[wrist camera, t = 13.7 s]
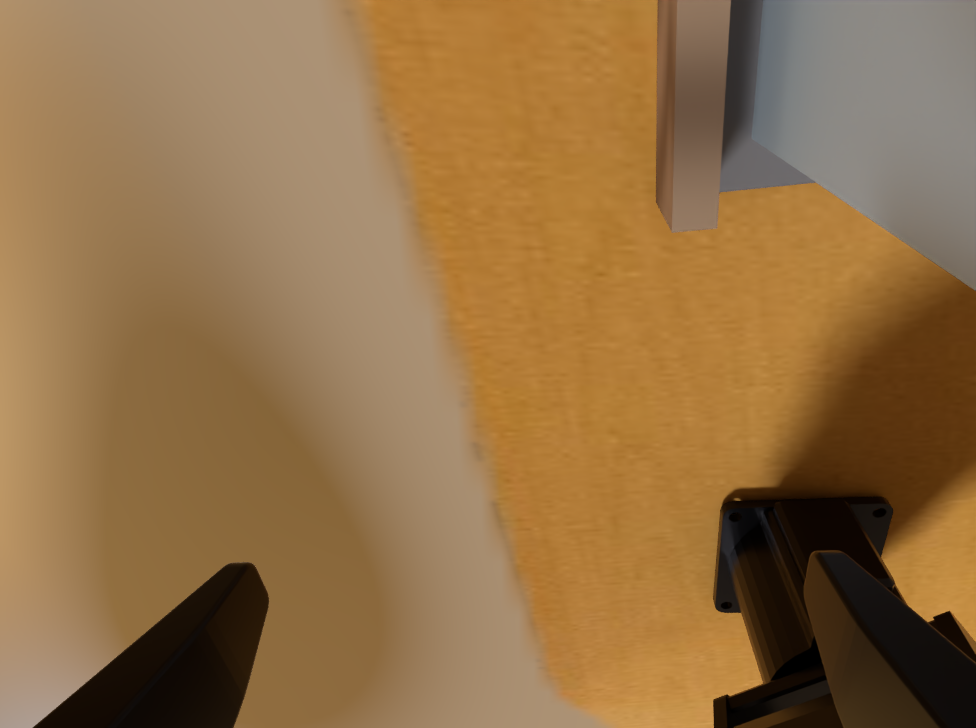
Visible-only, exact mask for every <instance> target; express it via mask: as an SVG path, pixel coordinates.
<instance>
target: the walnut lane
mask: <svg viewBox="0 0 976 728" xmlns="http://www.w3.org/2000/svg"><path fill="white" fill-rule="evenodd" d="M762 8H763V0H658V37H657V152H656V203H657V205H658V207H659V209H660V211H661V213H662V214H663V216H664V218H665V220H666V222H667V224H668V226H669V228H670V230H671V232H672V233H673V232H684V231H695V230H705V229H716V228H717V222H718V206H719V192H727V191H737V190H746V189H756V188H766V187H776V186H786V185H796V184H805V183H815V181H813V180H812V179H810V178H809V177H807V176H806V175H805V174H803V173H802V172H800V171H799V170H797V169H796V168H794V167H793V166H791V165H790V164H788V163H787V162H785V161H784V160H782V159H781V158H780V157H778V156H777V155H775V154H774V153H772V152H771V151H769V150H768V149H766V148H765V147H763V146H762V145H760V144H759V143H757V142H756V141H755V140H753V139H752V127H753V115H754V103H755V91H756V79H757V67H758V56H759V44H760V32H761V20H762Z"/></svg>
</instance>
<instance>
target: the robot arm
mask: <svg viewBox="0 0 976 728" xmlns="http://www.w3.org/2000/svg"><path fill="white" fill-rule="evenodd" d="M879 508H880V509H879ZM876 509H878V510H876ZM732 513H736V514H734V515H731V514H732ZM892 515H893V508H892V507H891V505H890V504H889V502H888V501H887V500H886V499H885V498H883V497H848V498H817V499H786V500H756V501H732V502H728V503H726V504H724V505H723V506H722V507H721V510H720V521H719V533H718V545H717V557H716V569H715V581H714V593H713V600H714V604H715V608H716V609H717V610H718V611H720V612H724V613H742V616H743V620H744V623H745V626H746V629H747V632H748V636H749V639H750V642H751V645H752V648H753V652H754V655H755V658H756V661H757V664H758V668H759V671H760V674H761V677H762V681H763V684H761V685H759V686H756V687H753V688H751V689H748V690H745V691H743V692H740V693H737V694H735V695H732V696H729V695H724V696H721V697H719V698H716V699H714V700H713V707H714V728H976V642H975V641H974V640H973V638H972V637H971V636H970V635H969V633H968V632H967V631H966V630H965V629H964V627H963V626H962V625H961V624H960V622H959V621H958V620H957V619H956V618H955V616H954V615H953V614H952V613H951V612H950V611H948V612H945V613H942V614H940V615H937V616H934V617H933V618H934V620H933V621H930V622H927V621H925V620H924V619H923V618H922V617H921V616H919V615H918V614H917V613H916V612H915V611H913V610H912V609H911V608H910V607H909V606H908V605H907V603H906V602H905V600H904V598H903V597H902V595H901V593H900V592H899V590H898V588H897V586H896V585H895V582H894V579H893V577H892V576H891V574H890V572H889V571H888V569H887V567H886V565H885V564H884V562H883V560H882V559H881V555H882V551H883V547H884V544H885V540H886V536H887V533H888V529H889V525H890V522H891V518H892ZM268 604H269V597H268V593H267V590H266V588H265V586H264V584H263V582H262V580H261V577H260V575H259V573H258V571H257V569H256V567H255V566H254V565H253V564H252V563H248V562H247V563H230V564H228V565H226V566H224V567H223V568H222V569H221V570H219V571H218V572H217V573H216V574H215V575H214V576H212V577H211V578H210V579H209V580H208V581H206V582H205V583H204V584H203V585H202V586H200V587H199V588H198V589H197V590H196V591H195V592H193V593H192V594H191V595H190V596H189V597H187V598H186V599H185V600H184V601H183V602H181V603H180V604H179V605H178V606H177V607H175V609H173V610H172V611H171V612H170V613H168V614H167V615H166V616H165V617H164V618H162V619H161V620H160V621H159V622H158V623H157V624H155V625H154V626H153V627H152V628H151V629H149V630H148V631H147V632H146V633H145V634H144V635H142V636H141V637H140V638H139V639H138V640H136V641H135V642H134V643H133V644H132V645H130V646H129V647H128V648H127V649H126V650H124V651H123V652H122V653H121V654H120V655H118V656H117V657H116V658H115V659H114V660H113V661H111V662H110V663H109V664H108V665H107V666H106V667H104V668H103V669H102V670H101V671H99V672H98V673H97V674H96V675H95V676H94V677H92V678H91V679H90V680H89V681H88V682H86V683H85V684H84V685H83V686H82V687H80V688H79V689H78V690H77V691H76V692H75V693H73V694H72V695H71V696H70V697H69V698H67V699H66V700H65V701H64V702H63V703H61V704H60V705H59V706H58V707H57V708H56V709H54V710H53V711H52V712H51V713H50V714H48V715H47V716H46V717H45V718H44V719H42V720H41V721H40V722H39V723H38V724H37V725H35V726H34V727H33V728H233V727H234V724H235V722H236V719H237V717H238V714H239V711H240V708H241V705H242V703H243V700H244V697H245V693H246V690H247V686H248V683H249V679H250V675H251V672H252V668H253V664H254V660H255V656H256V653H257V649H258V645H259V641H260V637H261V634H262V629H263V626H264V622H265V618H266V614H267V610H268Z"/></svg>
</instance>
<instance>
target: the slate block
mask: <svg viewBox="0 0 976 728" xmlns="http://www.w3.org/2000/svg"><path fill="white" fill-rule="evenodd" d="M752 139H753V140H755V141H756V142H757V143H759V144H760V145H762V146H763V147H765V148H766V149H768V150H769V151H771V152H772V153H774V154H775V155H777V156H778V157H780V158H781V159H782V160H784V161H785V162H787V163H788V164H790V165H791V166H793V167H794V168H796V169H797V170H799V171H800V172H802V173H803V174H805V175H806V176H807V177H809V178H810V179H812V180H813V181H815V182H816V183H818V184H819V185H821V186H822V187H824V188H825V189H827V190H828V191H830V192H831V193H832V194H834V195H835V196H837V197H838V198H840V199H841V200H843V201H844V202H846V203H847V204H849V205H850V206H852V207H853V208H854V209H856V210H857V211H859V212H860V213H862V214H863V215H865V216H866V217H868V218H869V219H871V220H872V221H874V222H875V223H877V224H878V225H879V226H881V227H882V228H884V229H885V230H887V231H888V232H890V233H891V234H893V235H894V236H896V237H897V238H899V239H900V240H902V241H903V242H904V243H906V244H907V245H909V246H910V247H912V248H913V249H915V250H916V251H918V252H919V253H921V254H922V255H924V256H925V257H927V258H928V259H929V260H931V261H932V262H934V263H935V264H937V265H938V266H940V267H941V268H943V269H944V270H946V271H947V272H949V273H950V274H951V275H953V276H954V277H956V278H957V279H959V280H960V281H962V282H963V283H965V284H966V285H968V286H969V287H971V288H972V289H974V290H975V291H976V0H763V8H762V20H761V32H760V44H759V56H758V67H757V79H756V91H755V103H754V115H753V127H752Z"/></svg>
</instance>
